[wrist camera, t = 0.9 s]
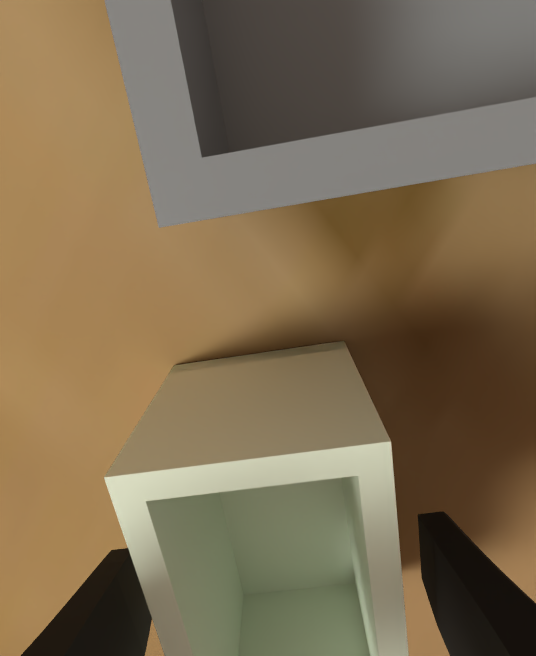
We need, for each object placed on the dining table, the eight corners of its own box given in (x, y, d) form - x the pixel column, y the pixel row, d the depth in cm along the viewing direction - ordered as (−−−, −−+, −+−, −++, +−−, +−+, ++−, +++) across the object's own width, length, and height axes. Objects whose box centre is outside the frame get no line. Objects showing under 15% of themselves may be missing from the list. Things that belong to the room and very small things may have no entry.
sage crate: (344, 340, 11) (391, 441, 7) (371, 578, 14) (418, 771, 9) (174, 365, 12) (104, 477, 7) (231, 593, 15) (209, 785, 10)
